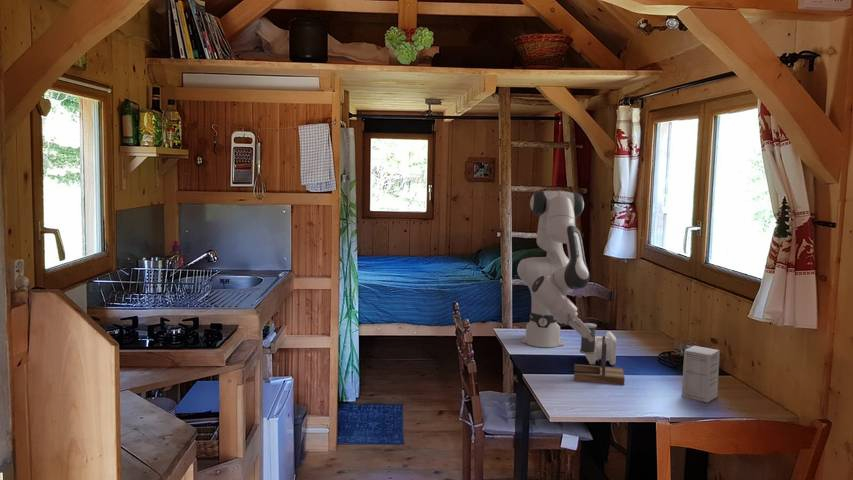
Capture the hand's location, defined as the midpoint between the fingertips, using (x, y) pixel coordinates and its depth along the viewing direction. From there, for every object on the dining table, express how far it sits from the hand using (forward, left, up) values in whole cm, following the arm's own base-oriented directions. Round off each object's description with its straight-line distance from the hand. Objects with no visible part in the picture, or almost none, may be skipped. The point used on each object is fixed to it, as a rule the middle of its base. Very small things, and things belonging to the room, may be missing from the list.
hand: (589, 338), depth 260 cm
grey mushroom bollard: (0, -1, -5) cm, 5 cm away
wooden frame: (+1, +4, -15) cm, 15 cm away
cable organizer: (-21, +5, -15) cm, 26 cm away
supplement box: (+13, +38, -15) cm, 43 cm away
